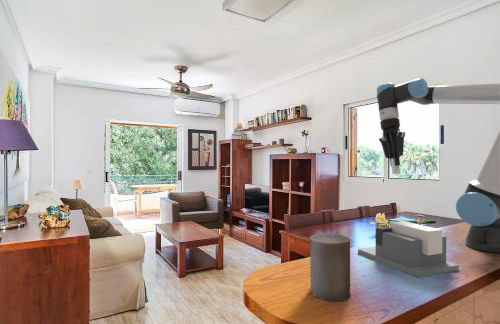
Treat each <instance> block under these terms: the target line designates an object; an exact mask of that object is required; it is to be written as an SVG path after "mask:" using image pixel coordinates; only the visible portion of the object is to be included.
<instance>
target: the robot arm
mask: <svg viewBox="0 0 500 324" xmlns="http://www.w3.org/2000/svg"><path fill="white" fill-rule="evenodd" d="M376 99H377V105H378V106H377V107H378V113H379V120H380V129H381V131H382V135H381V137H380V138H379V139H378V140H379V142H380V144H381V147H382V151H383V154H384V157H385V159H389V162H390V163H389V164H390V167H391V172H392V175H399V174H401V168H400V166H401V161H400V158H401V157H402V156H403V155H404V147H405V146H404V145H405V143H404V142H405V136H406V132H405V131H401V129H400V127H401V122H400V118H399V117H400V116H399V115H400V114H399V107H398V104H401V103H402V104H403V103H405V102H409V101H410V102H414V103H416V104H419V105H423V106H428V105H433V104H434V105H436V104H437V105H439V104H440V105H463V104H464V105H500V83H499V82H498V83H479V84H478V83H477V84H476V83H475V84H451V85H450V84H449V85H428V82H427V81H426V79H424V78H423V77H420V78H416V79H412V80H410V81H407V82H403V83H401V84H398V85H395V83H393V82H386V83H383V84H380V85H378V87H377V88H376ZM455 209H456V213H457V215H458V216H459V218H460V219H461V220H462V221H464V222H465V223H466V224H469V225H470V227H469V229H468V232H467V234H466V236H465V241H464V242H465V243H464V245H465V246H467V247H468V248H471V249H474V250H479V251H484V252H488V253H495V252H496V253H498V254H500V130H499V131H498V134H497V136H496V138H495V140H494V141H493V144H492V147H491V149H490V150H489V153H488V154H487V157H486V158H485V162H484V163H483V165H482V168H481V170H480V171H479V174H478V176H477V177H476V179H474V180H471V181H469V183H468V185H467V187H466V189H465V191H464V193H463V194H462V195H460V196H459V198H458V199H457V201H456V204H455Z"/></svg>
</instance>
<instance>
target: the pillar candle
mask: <svg viewBox="0 0 500 324" xmlns="http://www.w3.org/2000/svg"><path fill="white" fill-rule="evenodd" d="M309 239H310V240H309V243H310V245H309V246H310V252H309V253H310V257H309V259H310V260H309V263H310V275H309V276H310V282H309V283H310V293H311V292H312V293H311V294H312V295H313V296H314V295H315V296H316V297H315V296H314V297H315V298H317V297H318V298H317V299H319V298H320V299H319V300H322V299H323V301H327V302H340V301H346V300H348V299H350V297H351V239H350V238H349V237H348V236H345V235H342V234H338V233H332V232H330V233H317V234H313V235H311V236H310V237H309Z"/></svg>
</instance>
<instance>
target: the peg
mask: <svg viewBox="0 0 500 324" xmlns="http://www.w3.org/2000/svg"><path fill="white" fill-rule="evenodd" d="M414 223H415V222H409V221H405V220H401V221H400V220H399V221H390V222H389V228H392V232H396V233H399V234H403V235H407V236H410V237H414V238H418V239H421V240H422V254H425V255H434V254H441V253H442V236H443V229H441V228H436V227H433V226H432V227H431V226H428V225H427V226H425V225H424V226H423V224H421V225H419V224H420V223H418V224H417V223H415V224H414Z"/></svg>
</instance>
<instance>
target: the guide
mask: <svg viewBox="0 0 500 324" xmlns="http://www.w3.org/2000/svg"><path fill="white" fill-rule="evenodd" d="M357 254H358V255H361V256H364V257H367V258H369V259H371V260H373V261H377V262H378V263H381V264H384V265H386V266H388V267H391V268H394V269H395V270H398V271H401V272H403V273H405V274H408V275H411V276H413V277H414V278H422V277H423V278H424V277H427V276H432V275H438V274H443V273H450V272H453V271H454V272H455V271H459V267H460V266H459V264H457V263H453V262H451V261H448V260H447V236H445V235H442V253H441V254H434V255H425V254H422V240H421V239H418V238H414V237H410V236H407V235H403V234H399V233H396V232H392V228H390V227H389V226H378V227H375V246H371V247H364V248H363V247H362V248H358V249H357Z"/></svg>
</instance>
